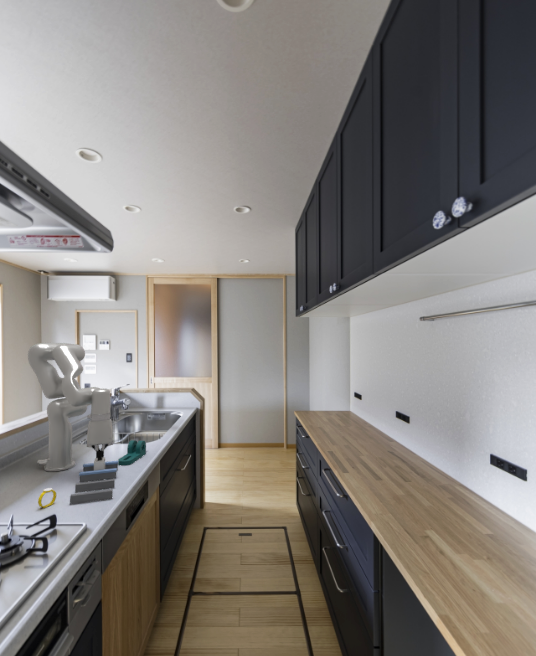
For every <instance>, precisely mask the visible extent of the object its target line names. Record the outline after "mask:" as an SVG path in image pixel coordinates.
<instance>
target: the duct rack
mask: <svg viewBox="0 0 536 656" xmlns="http://www.w3.org/2000/svg"><path fill="white" fill-rule="evenodd" d="M118 467H119V465H118V460H110V461H105V469H104V470H95V471H94V462H91V463H83V464H82V468H83V469H82V470H83V471H80V472H79V474H78V476H79V482H82V483H78V482H77V483H75V485H74V493H71V494H70V496H69V499H70V500H69V505H78V504H85V503H91V502H92V503H93V502H99V501H100V500H101V501H108V500H113V498H112V497H113V494H114V493H113V492H114V491H113V489H115V484H116V482H115V480H116V479H117V471H118V469H119V468H118ZM113 478H116V479H113ZM104 479H108V480H104ZM97 480H99V481H97ZM88 481H91V482H88ZM109 488H111V489H109ZM102 489H103V490H102ZM94 490H95V491H94ZM85 491H87V492H85ZM107 499H108V500H107ZM101 501H100V502H101Z"/></svg>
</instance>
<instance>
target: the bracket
mask: <svg viewBox="0 0 536 656" xmlns="http://www.w3.org/2000/svg"><path fill="white" fill-rule="evenodd" d="M146 454H147V442H146V440H133V439H130V440H129V442H128V444H127V453H126V454H125V455H123V456H121V457H120V458H118V460H117V461H118V466H120V465H121V466H120V467H125V466H130V465H132V464H134V463H135V461H136V462H137V461H139V460H140V459H141V458H143V457H144V456H145V455H146ZM143 455H144V456H143ZM142 456H143V457H142ZM139 458H140V459H139Z"/></svg>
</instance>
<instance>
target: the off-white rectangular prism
mask: <svg viewBox="0 0 536 656" xmlns="http://www.w3.org/2000/svg"><path fill="white" fill-rule="evenodd" d="M105 462H106V457H105V456H104V458H102V460H99V461H98V458H96V457H95V458H94V460H93V463H94V471H95V470H104V469H105Z"/></svg>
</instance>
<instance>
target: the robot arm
mask: <svg viewBox="0 0 536 656" xmlns="http://www.w3.org/2000/svg"><path fill="white" fill-rule="evenodd" d="M85 356H86V351H85V349H84V347H83V346H82V345H81V344H76V343H75V344H74V343H67V342H41V343H36V344H33V345H32V346H30V348H29V349H28V352H27V361H28V364H29V366H30V368H31V369H32V371H33V372H34V374H35V376H36V379H37V381H38V383H39V386H40V388H41V390H42V393H43V395H44V396H45V398H46V399H48V400H52V401H50V403H48V404H47V407H46V414H47V421H48V453H47V454H48V458H45V459H38V460H37V465H39V466H43V469H44V471H46V472H61V471H65V470H69V468H70V469H71V468H74V467H75V466H76V461H75V460H72V459H73V426H72V424H71V421H70V420H69V419H70V418H74V417H79V416H81V415H84V414H85V413H86V412H87V411H88V405H90V407H91V408H90V409H91V411H90V414H89V415H87V419H89V421H88V424H87V425H88V426H87V433H86V448H91V449H93V450H94V451H95V458H98V461H99V460H102V458H104V457H105V450H106V449H107V447H110V446H113V445H114V427H113V421H112V419H111V390H110V389H108V388H100V387H98V386H97V387H96V386H91V387H90V386H89V387H84V388H82V387H81V385H80V383H79V381H78V380H77V379H76V378H78V377H79V376H80V375H81V374H83V371H84V367H83V365H82V363H81V361H83V360H84V359H85ZM49 361H55V363H56V365H57V367H58V368H59V370H60V372H61V373H62V375H63V377H62V376H60V375H59V372H58V370H57V369H56V367H54V365H53V364H52V363H50V362H49ZM99 445H100V446H101V448H100V446H99Z"/></svg>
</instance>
